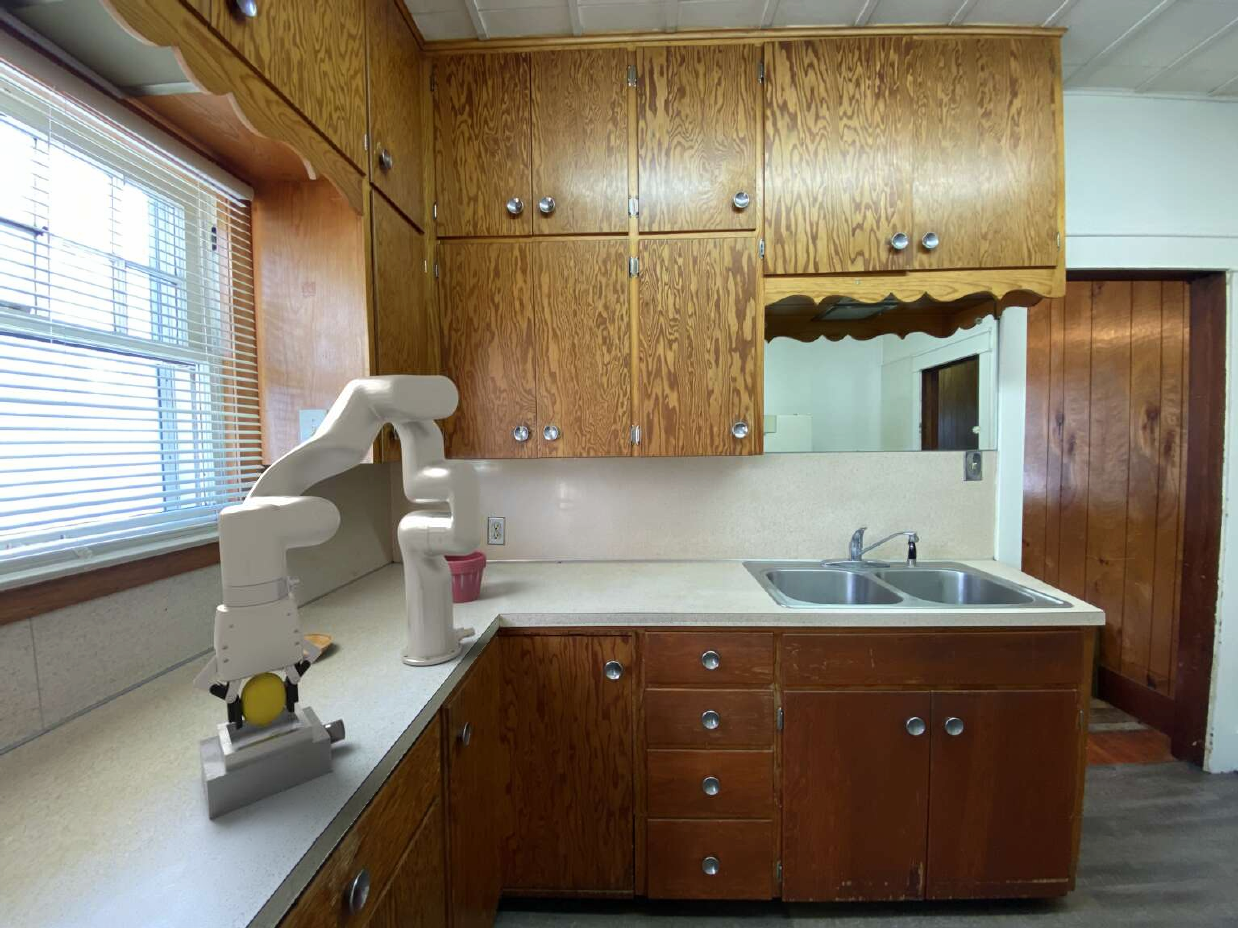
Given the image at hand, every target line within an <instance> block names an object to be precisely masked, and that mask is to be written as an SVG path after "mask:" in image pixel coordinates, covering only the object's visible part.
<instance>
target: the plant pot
mask: <svg viewBox="0 0 1238 928" xmlns="http://www.w3.org/2000/svg"><path fill="white" fill-rule="evenodd" d="M443 556H444V558H445V559H446V561H447V563H448V565H449V567H450V570H451V576H452V602H453V604H463V603H470V602H473V601H475V600H477V599H478V598H479V596H480V590H481V586H482V580H483V575H484V569H485V568H487V554H486V552H484V551H481V550H476V551H475V552H474V553H472V554H470V555H465V556H450V555H443Z"/></svg>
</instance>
